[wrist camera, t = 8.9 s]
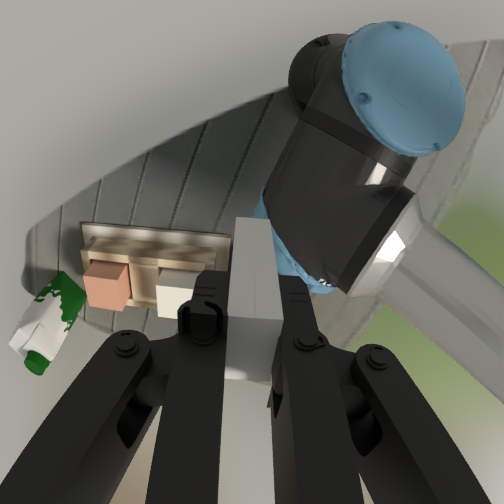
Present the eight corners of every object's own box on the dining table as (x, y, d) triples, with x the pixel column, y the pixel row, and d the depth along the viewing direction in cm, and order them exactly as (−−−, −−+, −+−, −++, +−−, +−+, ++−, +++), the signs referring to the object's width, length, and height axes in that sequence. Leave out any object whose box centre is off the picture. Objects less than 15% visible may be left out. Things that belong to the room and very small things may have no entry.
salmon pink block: (131, 256, 48) (117, 280, 42) (134, 285, 51) (122, 311, 45) (99, 252, 48) (82, 275, 42) (104, 281, 51) (89, 306, 45)
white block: (202, 263, 49) (196, 289, 43) (201, 293, 52) (196, 321, 46) (166, 259, 49) (155, 285, 43) (167, 289, 52) (158, 316, 46)
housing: (230, 235, 50) (228, 254, 45) (224, 303, 57) (222, 325, 52) (84, 222, 48) (68, 238, 43) (94, 287, 55) (82, 306, 50)
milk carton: (74, 313, 59) (36, 382, 41) (45, 285, 55) (-2, 350, 38) (93, 295, 56) (52, 369, 39) (61, 264, 53) (10, 332, 35)
